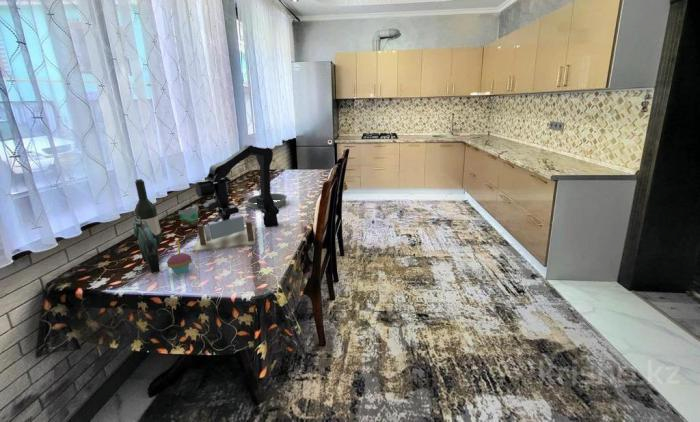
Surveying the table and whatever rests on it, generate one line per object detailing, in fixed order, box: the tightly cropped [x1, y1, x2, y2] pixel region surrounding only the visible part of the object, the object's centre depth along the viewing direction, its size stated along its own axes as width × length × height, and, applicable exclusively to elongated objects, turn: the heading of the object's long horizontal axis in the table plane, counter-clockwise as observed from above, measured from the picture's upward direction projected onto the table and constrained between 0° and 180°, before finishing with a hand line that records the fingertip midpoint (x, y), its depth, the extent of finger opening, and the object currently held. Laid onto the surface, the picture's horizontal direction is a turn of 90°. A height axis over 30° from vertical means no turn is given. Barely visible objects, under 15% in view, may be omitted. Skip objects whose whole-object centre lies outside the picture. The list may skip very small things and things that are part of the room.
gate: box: [203, 215, 246, 241], centre depth 163 cm, size 18×2×7 cm, turn 136°
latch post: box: [244, 219, 254, 241], centre depth 160 cm, size 3×3×9 cm
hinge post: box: [196, 223, 206, 245], centre depth 157 cm, size 2×2×9 cm
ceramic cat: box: [132, 216, 161, 274], centre depth 139 cm, size 20×6×20 cm, turn 37°
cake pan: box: [246, 193, 288, 211], centre depth 222 cm, size 25×25×4 cm
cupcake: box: [166, 240, 192, 275], centre depth 133 cm, size 9×8×12 cm
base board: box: [192, 225, 257, 253], centre depth 166 cm, size 26×24×1 cm
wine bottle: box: [134, 178, 163, 245], centre depth 162 cm, size 8×8×30 cm
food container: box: [177, 203, 200, 229], centre depth 187 cm, size 12×6×10 cm, turn 168°
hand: (225, 224), depth 166 cm, fingers closed
